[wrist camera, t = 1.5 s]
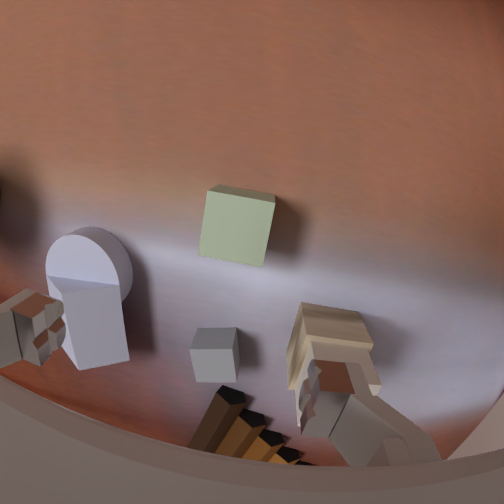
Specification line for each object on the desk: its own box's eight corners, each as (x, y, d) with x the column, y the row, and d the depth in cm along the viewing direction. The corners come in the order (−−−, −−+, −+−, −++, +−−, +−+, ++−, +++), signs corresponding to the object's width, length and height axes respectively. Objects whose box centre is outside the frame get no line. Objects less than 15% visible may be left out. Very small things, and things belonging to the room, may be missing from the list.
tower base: (300, 301, 31) (306, 334, 25) (357, 311, 31) (374, 343, 25) (286, 352, 32) (288, 389, 27) (340, 359, 32) (350, 396, 27)
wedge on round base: (140, 343, 33) (130, 228, 29) (117, 379, 27) (97, 248, 23) (74, 330, 34) (58, 224, 30) (46, 360, 27) (19, 241, 23)
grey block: (198, 327, 32) (189, 349, 28) (236, 327, 32) (232, 348, 28) (203, 359, 33) (196, 381, 29) (240, 358, 33) (236, 382, 29)
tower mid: (310, 340, 25) (317, 378, 20) (366, 348, 25) (382, 385, 20) (294, 385, 26) (297, 426, 22) (346, 391, 26) (357, 430, 22)
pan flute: (219, 380, 35) (170, 474, 42) (214, 399, 31) (166, 489, 39) (391, 428, 36) (305, 506, 43) (397, 445, 33) (305, 521, 40)
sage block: (218, 184, 28) (207, 190, 23) (274, 194, 28) (275, 203, 23) (209, 238, 29) (198, 255, 25) (263, 248, 29) (262, 267, 25)
